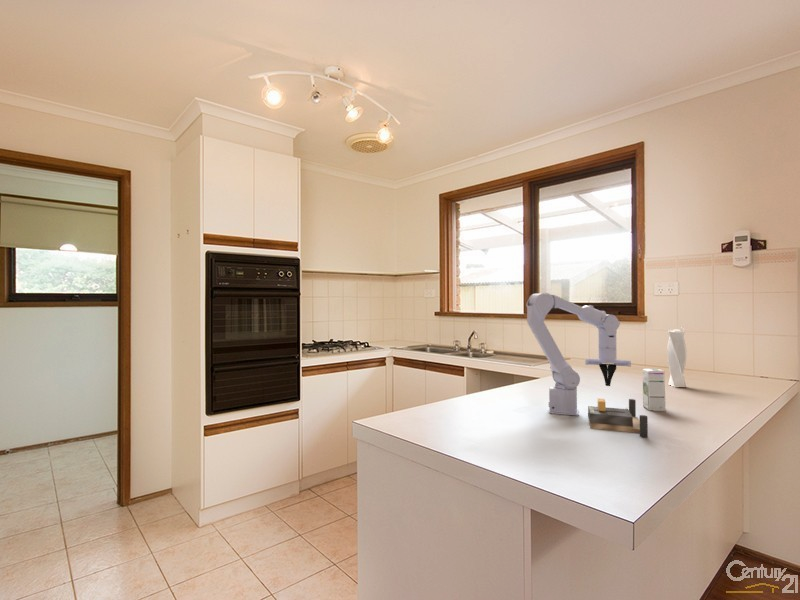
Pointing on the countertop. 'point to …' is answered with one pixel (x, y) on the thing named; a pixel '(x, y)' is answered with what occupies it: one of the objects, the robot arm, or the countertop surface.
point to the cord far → (632, 407)
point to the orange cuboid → (601, 405)
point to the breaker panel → (618, 428)
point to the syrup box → (654, 389)
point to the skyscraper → (676, 357)
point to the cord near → (643, 426)
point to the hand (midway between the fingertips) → (607, 385)
